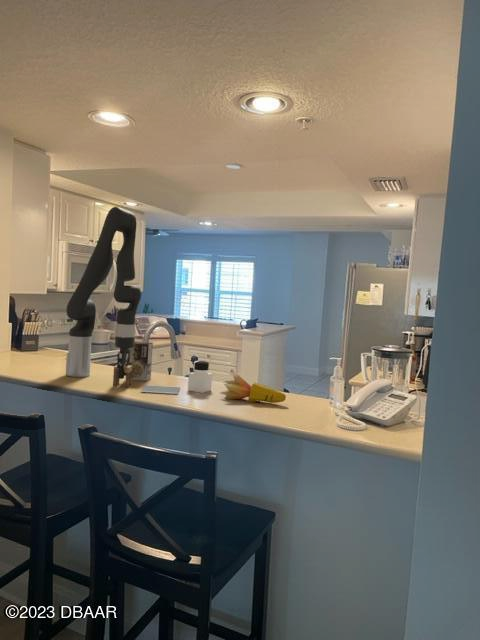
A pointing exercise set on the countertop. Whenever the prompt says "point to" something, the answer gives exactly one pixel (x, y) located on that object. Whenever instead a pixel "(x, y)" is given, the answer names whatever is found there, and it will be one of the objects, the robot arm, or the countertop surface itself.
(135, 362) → the coffee box
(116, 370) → the stool
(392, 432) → the countertop surface
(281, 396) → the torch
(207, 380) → the medicine bottle
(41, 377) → the countertop surface
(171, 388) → the mat
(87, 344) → the robot arm
